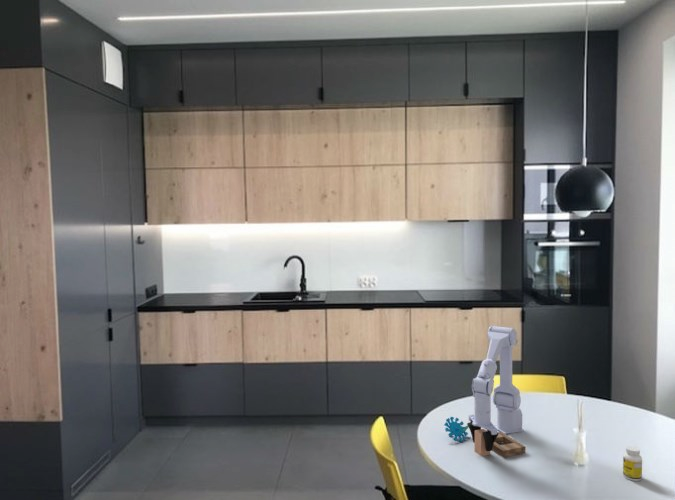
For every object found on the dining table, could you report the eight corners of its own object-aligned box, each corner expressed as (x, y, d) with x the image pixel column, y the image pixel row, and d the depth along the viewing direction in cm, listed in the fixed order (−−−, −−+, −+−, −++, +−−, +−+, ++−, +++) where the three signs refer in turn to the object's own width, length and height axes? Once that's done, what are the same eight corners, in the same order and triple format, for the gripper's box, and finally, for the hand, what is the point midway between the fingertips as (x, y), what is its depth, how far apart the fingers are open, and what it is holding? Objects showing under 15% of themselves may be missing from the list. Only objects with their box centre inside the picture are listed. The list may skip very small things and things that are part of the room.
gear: (451, 441, 192) (442, 416, 199) (443, 447, 196) (435, 423, 202) (474, 439, 197) (465, 415, 203) (466, 446, 200) (457, 422, 207)
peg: (483, 449, 188) (483, 428, 188) (490, 454, 184) (490, 432, 184) (474, 451, 187) (474, 430, 186) (481, 456, 183) (481, 434, 183)
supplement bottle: (619, 473, 169) (619, 445, 169) (634, 472, 170) (635, 444, 169) (630, 481, 164) (630, 452, 163) (645, 481, 164) (646, 451, 164)
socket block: (500, 438, 198) (500, 431, 198) (525, 453, 185) (525, 446, 185) (479, 442, 195) (479, 435, 195) (503, 457, 182) (503, 450, 181)
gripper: (461, 404, 190) (461, 440, 191) (485, 418, 177) (485, 456, 177) (477, 402, 193) (477, 437, 193) (502, 415, 179) (502, 453, 180)
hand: (482, 446), depth 185 cm, fingers open, 7 cm apart
